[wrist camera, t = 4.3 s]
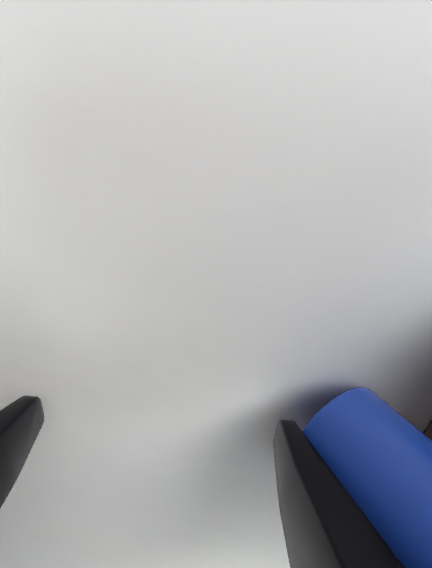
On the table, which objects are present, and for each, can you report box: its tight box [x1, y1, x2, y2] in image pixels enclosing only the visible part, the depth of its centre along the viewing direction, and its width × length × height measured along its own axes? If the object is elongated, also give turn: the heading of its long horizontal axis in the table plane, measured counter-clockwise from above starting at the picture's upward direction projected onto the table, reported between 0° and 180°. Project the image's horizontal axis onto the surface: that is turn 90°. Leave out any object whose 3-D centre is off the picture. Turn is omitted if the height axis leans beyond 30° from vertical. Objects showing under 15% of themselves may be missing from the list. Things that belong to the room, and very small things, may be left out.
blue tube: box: [302, 387, 432, 568], centre depth 6 cm, size 6×3×6 cm, turn 85°
